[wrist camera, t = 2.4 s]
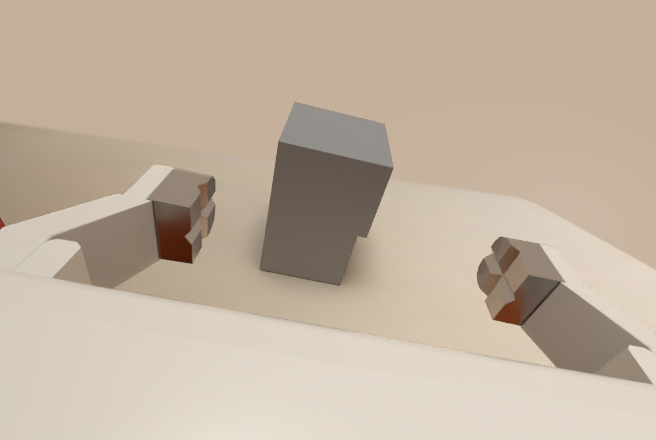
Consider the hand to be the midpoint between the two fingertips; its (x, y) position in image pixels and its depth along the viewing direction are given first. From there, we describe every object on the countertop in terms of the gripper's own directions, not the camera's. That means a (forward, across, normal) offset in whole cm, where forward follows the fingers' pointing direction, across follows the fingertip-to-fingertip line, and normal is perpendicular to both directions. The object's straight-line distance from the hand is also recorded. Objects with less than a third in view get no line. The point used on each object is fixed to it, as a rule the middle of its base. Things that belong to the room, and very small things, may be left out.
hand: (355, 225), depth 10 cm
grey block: (+12, 0, +12) cm, 18 cm away
